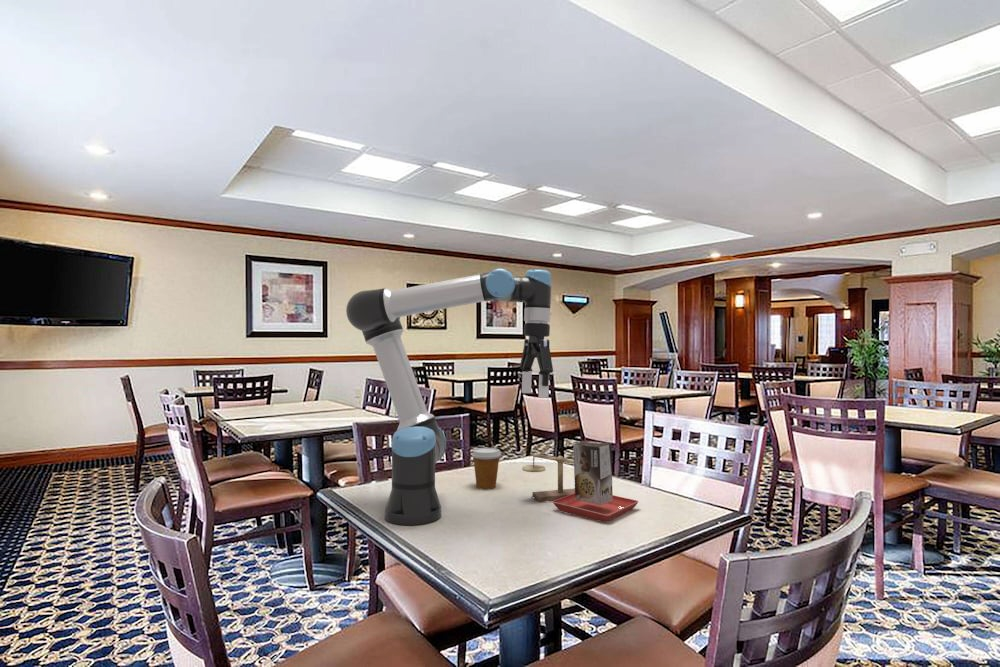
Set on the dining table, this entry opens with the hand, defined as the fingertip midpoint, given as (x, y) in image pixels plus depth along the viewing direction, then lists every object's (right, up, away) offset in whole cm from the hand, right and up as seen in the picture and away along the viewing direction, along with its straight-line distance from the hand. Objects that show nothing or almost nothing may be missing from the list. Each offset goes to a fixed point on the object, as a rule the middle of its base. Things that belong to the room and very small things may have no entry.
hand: (534, 395), depth 160 cm
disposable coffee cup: (-15, -33, +20) cm, 41 cm away
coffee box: (+16, -29, -5) cm, 34 cm away
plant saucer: (+17, -33, -5) cm, 37 cm away
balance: (+8, -32, +8) cm, 34 cm away
